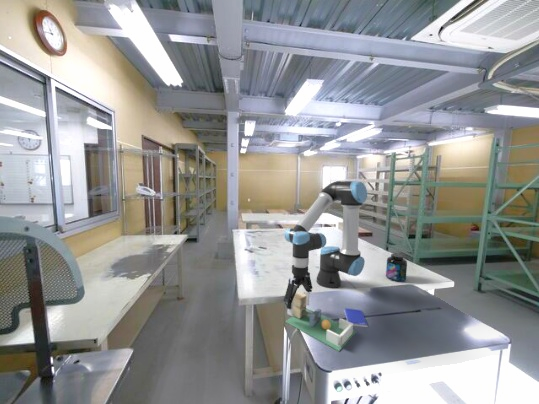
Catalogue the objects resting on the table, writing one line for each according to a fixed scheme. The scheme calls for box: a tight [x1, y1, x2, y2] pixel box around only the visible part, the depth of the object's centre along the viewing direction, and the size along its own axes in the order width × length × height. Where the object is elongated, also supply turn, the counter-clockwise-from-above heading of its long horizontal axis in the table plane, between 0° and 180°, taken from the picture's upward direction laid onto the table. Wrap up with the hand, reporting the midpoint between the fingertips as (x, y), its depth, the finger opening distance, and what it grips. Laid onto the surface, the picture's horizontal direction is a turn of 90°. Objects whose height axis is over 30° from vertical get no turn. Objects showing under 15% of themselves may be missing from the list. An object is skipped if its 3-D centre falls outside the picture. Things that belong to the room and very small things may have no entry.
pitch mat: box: [284, 307, 357, 352], centre depth 101 cm, size 16×26×1 cm, turn 47°
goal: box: [326, 317, 355, 347], centre depth 95 cm, size 12×6×4 cm, turn 137°
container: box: [385, 253, 408, 283], centre depth 155 cm, size 12×12×17 cm
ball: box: [321, 320, 331, 330], centre depth 99 cm, size 4×4×4 cm
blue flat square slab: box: [344, 307, 369, 328], centre depth 109 cm, size 2×8×12 cm
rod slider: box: [293, 291, 322, 327], centre depth 106 cm, size 7×12×10 cm, turn 47°
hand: (298, 309), depth 109 cm, fingers open, 12 cm apart
